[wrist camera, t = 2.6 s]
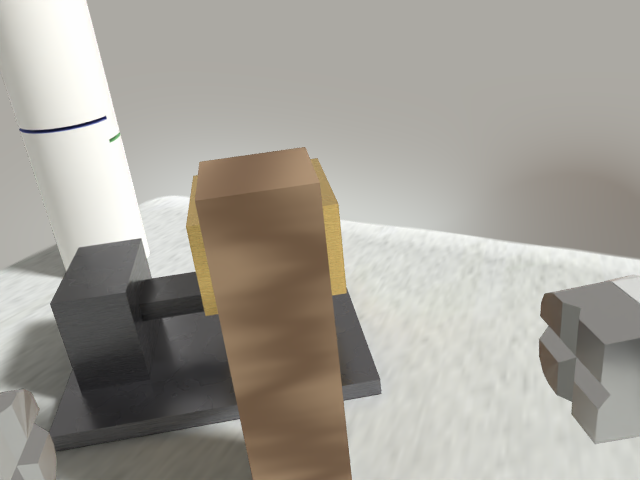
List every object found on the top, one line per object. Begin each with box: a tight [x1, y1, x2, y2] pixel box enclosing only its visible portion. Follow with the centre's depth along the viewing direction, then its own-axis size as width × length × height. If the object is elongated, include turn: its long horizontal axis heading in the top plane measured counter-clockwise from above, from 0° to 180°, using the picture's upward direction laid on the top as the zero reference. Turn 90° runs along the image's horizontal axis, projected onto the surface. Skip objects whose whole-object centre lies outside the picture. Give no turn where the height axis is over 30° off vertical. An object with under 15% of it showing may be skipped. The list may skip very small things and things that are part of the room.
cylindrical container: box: [0, 0, 150, 271], centre depth 47 cm, size 7×7×25 cm
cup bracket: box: [49, 159, 381, 451], centre depth 37 cm, size 18×14×10 cm
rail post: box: [195, 147, 352, 480], centre depth 24 cm, size 4×4×16 cm
